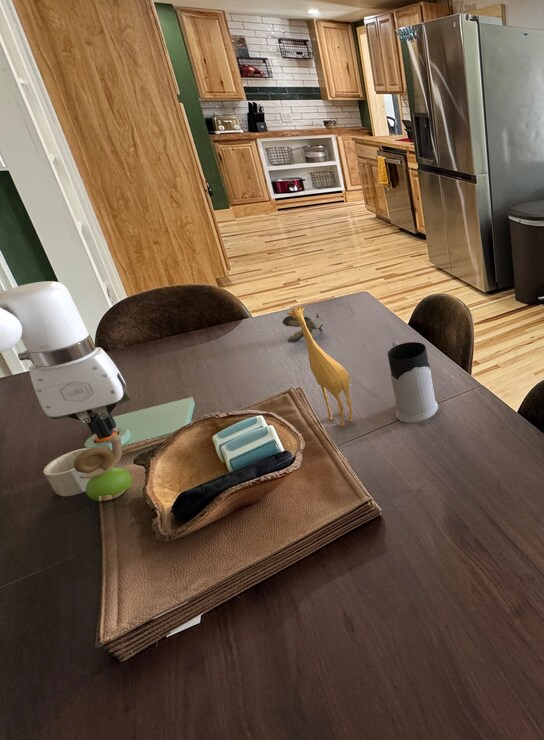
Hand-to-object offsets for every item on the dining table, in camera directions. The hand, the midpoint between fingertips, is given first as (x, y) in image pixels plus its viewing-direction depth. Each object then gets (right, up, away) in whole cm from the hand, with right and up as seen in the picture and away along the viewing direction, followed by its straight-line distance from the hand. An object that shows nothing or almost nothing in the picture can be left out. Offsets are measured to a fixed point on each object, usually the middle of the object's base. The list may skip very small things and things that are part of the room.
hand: (106, 433), depth 90 cm
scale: (+2, -2, +7) cm, 7 cm away
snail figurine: (+11, -8, -8) cm, 16 cm away
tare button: (0, -2, 0) cm, 2 cm away
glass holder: (+53, +2, +16) cm, 55 cm away
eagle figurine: (+10, +14, +45) cm, 48 cm away
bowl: (+2, -7, -6) cm, 9 cm away
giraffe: (+37, 0, +12) cm, 39 cm away
